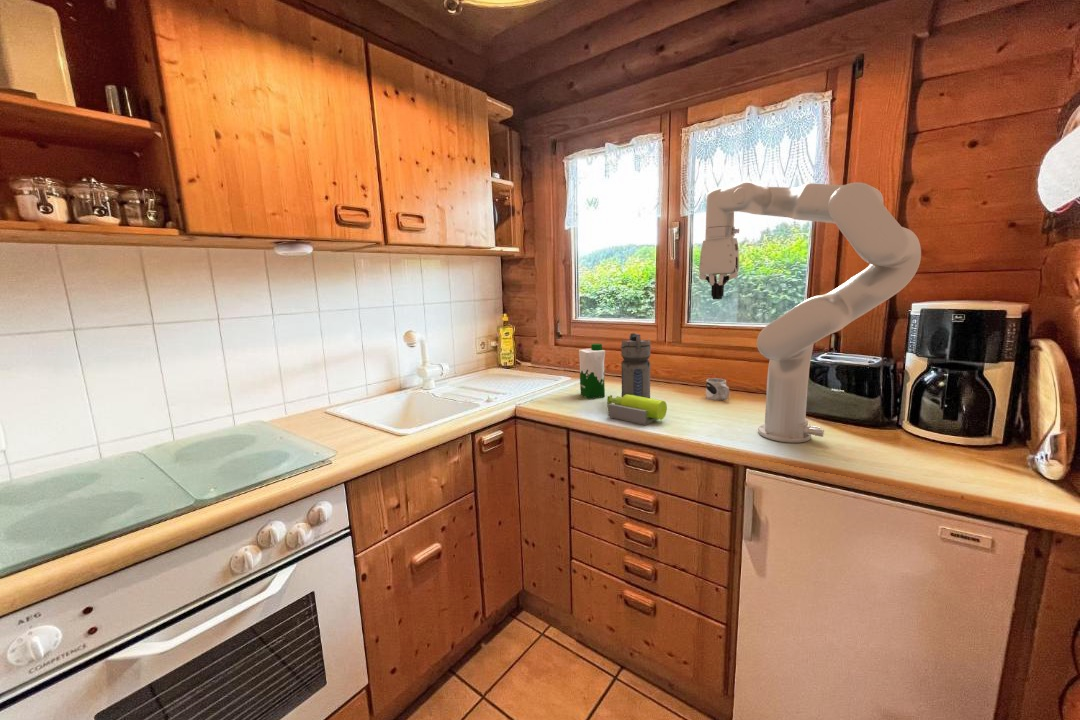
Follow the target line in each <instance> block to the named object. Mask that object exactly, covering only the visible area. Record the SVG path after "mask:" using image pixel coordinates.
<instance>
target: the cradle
mask: <svg viewBox="0 0 1080 720" xmlns="http://www.w3.org/2000/svg"><path fill="white" fill-rule="evenodd" d="M607 413H608V417H609V419H615V420H620V421H623V422H624V421H625V422H629V423H632V424H633V423H634V424H638V425H643V426H647V425H649V424H650V423H652V422H655V421H656V420H657V419H655V418H650V417H647V410H641V409H636V408H631V407H625V406H620V405H615V404H614V403H612V404H608V408H607Z"/></svg>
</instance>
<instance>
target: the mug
mask: <svg viewBox="0 0 1080 720" xmlns="http://www.w3.org/2000/svg"><path fill="white" fill-rule="evenodd" d="M705 383H706V384H705V398H706V399H707V400H711V401H724V400H728V399H729V397H730V387H729V386H728V385H727V380H726V379H723V378H719V377H718V378H716V377H713V378H707V379H706V380H705Z"/></svg>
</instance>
